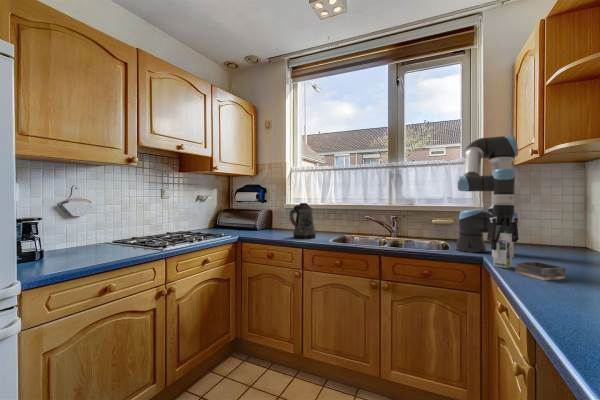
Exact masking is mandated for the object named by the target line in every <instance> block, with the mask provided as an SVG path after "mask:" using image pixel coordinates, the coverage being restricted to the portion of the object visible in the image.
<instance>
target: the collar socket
mask: <svg viewBox="0 0 600 400" xmlns="http://www.w3.org/2000/svg"><path fill="white" fill-rule="evenodd" d="M514 264H515V266H514V267H515V268H514V269H515V270H514V273H515V274H517V275H522V276H525V277H529V278H533V279H538V280H541V281H554V280H564V279H565V280H566V267H564V266H563V267H562V266H557V265H553V264H549V263H544V262H540V261H525V262H523V261H522V262H515V263H514Z"/></svg>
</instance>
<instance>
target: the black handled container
mask: <svg viewBox="0 0 600 400" xmlns="http://www.w3.org/2000/svg"><path fill="white" fill-rule="evenodd" d="M313 211H314V209H313V208H312V207H311V206H310V205H308V203H307V202H300V204H298V205H294V206H293V209H291V210H290V212H289V221H290V222H291V224H292V225H293V226H294V230H293V234H292V235H293V238H295V239H301V240H310V239H311V240H312V239H313V240H314V239H315V238H316V235H317V232H316V230H315V225H314V220H313V219H314V218H313ZM294 214H296V217H295V219H294Z"/></svg>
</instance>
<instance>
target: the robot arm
mask: <svg viewBox="0 0 600 400" xmlns="http://www.w3.org/2000/svg"><path fill="white" fill-rule="evenodd" d="M518 155H519V150H518V142H517V139H516V137H515V136H514V135H502V136H501V135H500V136H491V137H490V136H489V137H481V138H477V139H476V140H474V141H472V142H470V143H469V145H467V146H466V148H465V149H464V152H463V158H464V167H463V174H462V175H461V176H458V177H457V190H458V191H459V192H465V193H466V192H467V193H468V192H491V202H490V203H491V204H490V205H491V206H489V207H488V208H487V211H484V209H483V208H481V209H468V210H466V209H465V210H461V211H460V212H459V218H458V220H459V223H458V224H459V225H458V238H457V241H456V244H455V246H454V247H455V250H456V249H457V250H456V251H459V250H461V251H460V252H464V251H468V252H467V253H472V252H485V253H487V246H486V243H485V241H484V234H487V238H486V240H487V241H488V242H490V243H491V245H490V246H491V257H492V258H494V257H495V258H499V243H497V242H498V239H499V236H500V233H508V234H512V258H514V255H515V254H514V250H515V243H518V241H519V240H520V237H519V228H518V227H519V226H518V221H519V218H518V212H515V205H514V204H515V187H516V186H515V185H516V184H515V182H516V172H515V169H514V168H512V162H514V161H515V158H516V157H518ZM482 159H488V162H489V163H491V175H481V169H482Z"/></svg>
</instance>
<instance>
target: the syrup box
mask: <svg viewBox="0 0 600 400" xmlns="http://www.w3.org/2000/svg"><path fill="white" fill-rule="evenodd" d="M497 243H499V258H495V257H493V267H496V268H497V267H498V268H504V269H510V268H511V267H512V265H513V264H512V260H513V259H512V258H513V257H512V234H508V233H500V236H499V239H498V242H497Z"/></svg>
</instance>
